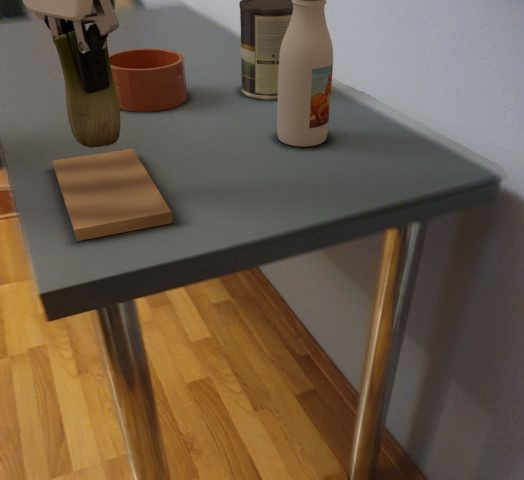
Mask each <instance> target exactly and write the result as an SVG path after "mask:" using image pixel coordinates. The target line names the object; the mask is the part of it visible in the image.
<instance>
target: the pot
mask: <svg viewBox="0 0 524 480" xmlns="http://www.w3.org/2000/svg"><path fill="white" fill-rule="evenodd" d="M109 60H110V66H111V70H112V76H113V80H114V84H115V88H116V92H117V96H118V102H119V109H120V110H122V111H126V112H127V111H128V112H135V113H137V112H139V113H148V112H149V113H150V112H160V111H165V110H169V109H173V108H176V107H179V106H180V105H182V104H184V103H186V101H187V98H188V87H187V77H186V65H185V57H184V56H183V54H181V53H180V52H178V51H174V50H171V49H170V50H169V49H164V48H132V49H126V50H120V51H116V52H112V53H109Z"/></svg>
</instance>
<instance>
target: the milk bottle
mask: <svg viewBox="0 0 524 480" xmlns="http://www.w3.org/2000/svg"><path fill="white" fill-rule="evenodd" d="M292 3H293V13H292V17H291V20H290V23H289V26H288V28H287V31H286V33H285V35H284V38H283V41H282V44H281V48H280V55H279V69H278V99H277V104H276V105H277V106H276V136H277V138H278V140H279V142H282V143H283V144H286V145H288V146H293V147H314V146H318V145H320V144H323V143H324V142H325V141H326V140H327V137H328V133H329V132H328V131H329V120H330V108H331V98H332V84H333V83H332V82H333V69H334V49H333V48H334V47H333V42H332V38H331V34H330V32H329V29H328V25H327V20H326V14H325V6H326V4H327V3H328V2H327V0H292Z"/></svg>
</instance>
